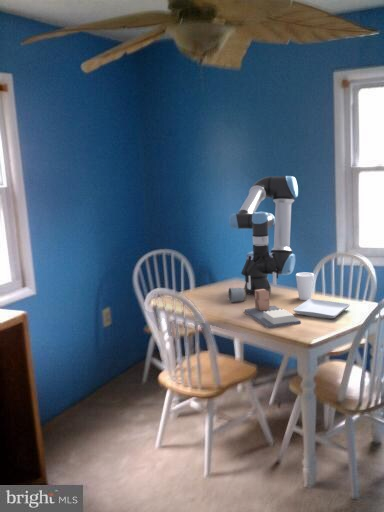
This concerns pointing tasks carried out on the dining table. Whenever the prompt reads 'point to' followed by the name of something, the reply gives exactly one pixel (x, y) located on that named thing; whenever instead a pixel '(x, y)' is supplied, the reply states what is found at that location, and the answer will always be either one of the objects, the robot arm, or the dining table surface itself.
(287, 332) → the dining table surface
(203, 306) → the dining table surface
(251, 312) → the board
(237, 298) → the grey cylinder
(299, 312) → the salad plate
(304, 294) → the foam cup
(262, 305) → the reddish brown block
